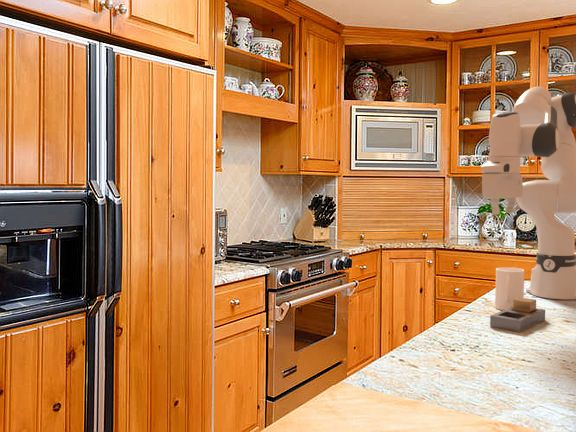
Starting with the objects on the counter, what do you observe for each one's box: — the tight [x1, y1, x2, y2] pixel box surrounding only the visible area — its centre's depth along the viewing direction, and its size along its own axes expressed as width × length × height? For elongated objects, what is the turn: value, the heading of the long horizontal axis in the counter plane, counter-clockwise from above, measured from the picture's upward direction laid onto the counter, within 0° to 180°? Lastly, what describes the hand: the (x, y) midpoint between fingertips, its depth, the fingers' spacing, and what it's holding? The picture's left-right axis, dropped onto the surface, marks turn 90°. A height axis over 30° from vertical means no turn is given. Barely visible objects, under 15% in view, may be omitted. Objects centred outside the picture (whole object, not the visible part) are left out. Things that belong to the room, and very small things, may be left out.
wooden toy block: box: [513, 297, 537, 314], centre depth 153 cm, size 4×4×6 cm
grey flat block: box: [489, 307, 546, 333], centre depth 150 cm, size 17×8×3 cm, turn 135°
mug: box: [493, 266, 525, 311], centre depth 167 cm, size 12×8×12 cm
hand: (503, 213), depth 164 cm, fingers open, 8 cm apart
